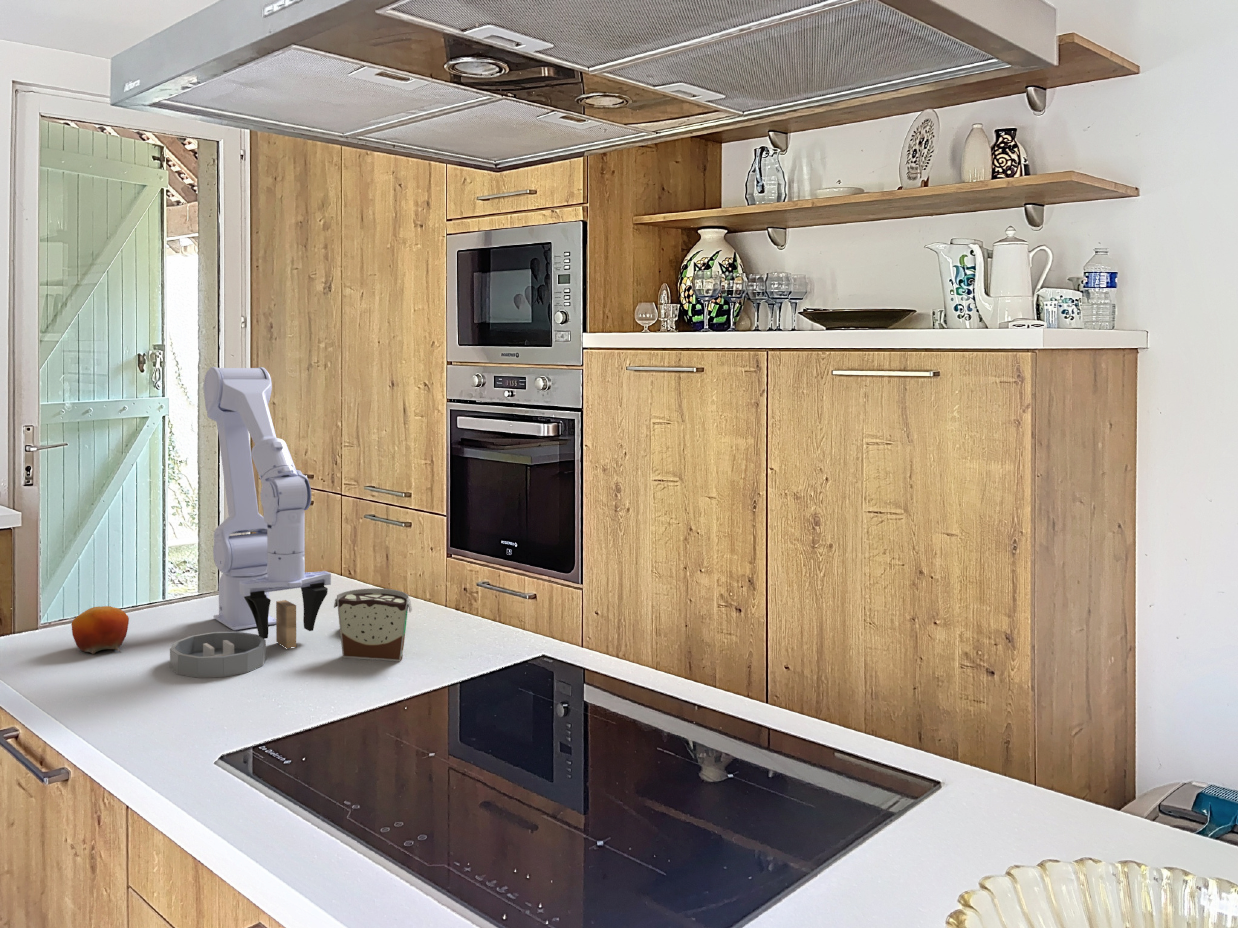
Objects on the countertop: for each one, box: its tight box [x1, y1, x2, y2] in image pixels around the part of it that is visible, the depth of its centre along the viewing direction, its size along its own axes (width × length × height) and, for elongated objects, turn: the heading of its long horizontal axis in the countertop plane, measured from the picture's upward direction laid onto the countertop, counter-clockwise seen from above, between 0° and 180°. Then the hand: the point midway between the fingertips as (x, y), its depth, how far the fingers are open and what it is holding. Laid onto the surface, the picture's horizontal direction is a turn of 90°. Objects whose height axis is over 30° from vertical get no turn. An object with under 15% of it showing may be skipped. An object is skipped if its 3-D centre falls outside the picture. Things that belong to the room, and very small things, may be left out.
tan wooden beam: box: [275, 599, 297, 650], centre depth 170 cm, size 4×2×7 cm, turn 41°
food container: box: [333, 588, 413, 662], centre depth 167 cm, size 12×6×10 cm, turn 84°
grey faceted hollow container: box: [169, 631, 267, 679], centre depth 160 cm, size 13×13×3 cm
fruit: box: [70, 605, 130, 655], centre depth 164 cm, size 8×8×8 cm
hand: (286, 633), depth 170 cm, fingers open, 7 cm apart
